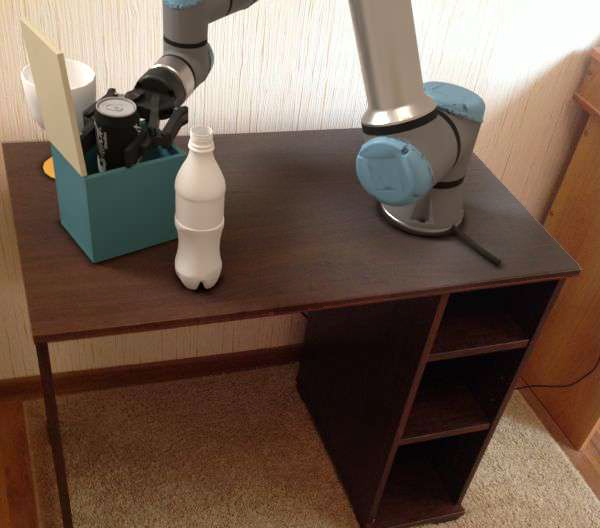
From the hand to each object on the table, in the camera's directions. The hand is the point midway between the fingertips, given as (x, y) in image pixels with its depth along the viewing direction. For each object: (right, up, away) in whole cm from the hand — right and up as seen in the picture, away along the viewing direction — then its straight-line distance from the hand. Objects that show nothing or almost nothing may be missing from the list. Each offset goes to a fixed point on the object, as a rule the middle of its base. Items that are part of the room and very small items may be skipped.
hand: (103, 153), depth 109 cm
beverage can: (0, -1, +9) cm, 9 cm away
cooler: (-1, -8, +15) cm, 17 cm away
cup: (-13, +6, +26) cm, 29 cm away
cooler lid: (-5, +5, -6) cm, 10 cm away
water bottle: (+12, -17, +9) cm, 23 cm away
